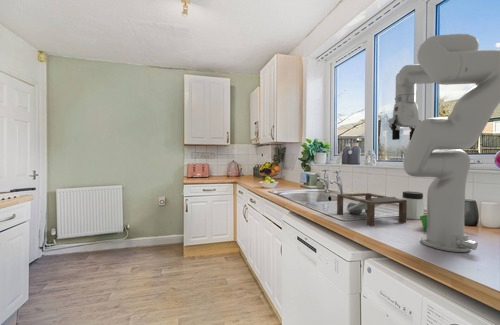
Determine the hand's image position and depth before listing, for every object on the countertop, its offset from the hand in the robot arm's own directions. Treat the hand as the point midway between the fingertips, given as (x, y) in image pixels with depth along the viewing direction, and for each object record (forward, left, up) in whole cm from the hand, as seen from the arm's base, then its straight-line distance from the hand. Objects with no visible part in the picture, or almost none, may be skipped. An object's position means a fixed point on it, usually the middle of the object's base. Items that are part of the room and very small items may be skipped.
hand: (404, 139), depth 107 cm
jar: (+6, -12, -36) cm, 39 cm away
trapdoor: (+9, +9, -30) cm, 33 cm away
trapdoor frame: (+10, +9, -36) cm, 39 cm away
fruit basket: (-12, -4, -37) cm, 39 cm away
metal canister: (+18, +9, -34) cm, 39 cm away
